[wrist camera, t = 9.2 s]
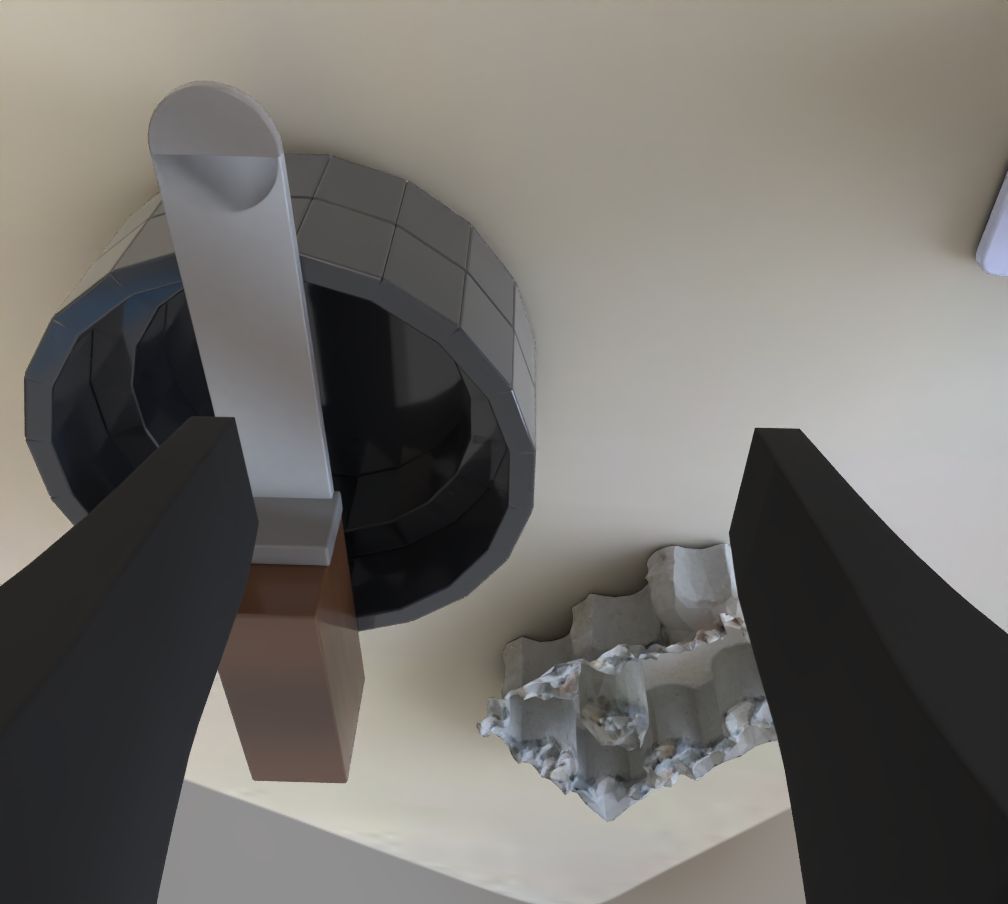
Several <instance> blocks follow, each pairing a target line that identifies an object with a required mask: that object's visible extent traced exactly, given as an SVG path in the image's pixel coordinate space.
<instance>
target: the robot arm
mask: <svg viewBox="0 0 1008 904" xmlns="http://www.w3.org/2000/svg"><path fill="white" fill-rule="evenodd" d="M976 260H977V263H978V264H979V266H980V267H981V268H982V270H984V271H985V272H986V273H987V274H990V275H995V276H1008V172H1007V174H1006V177H1005V180H1004V182H1003V185H1002V187H1001V190H1000V192H999V195H998V197H997V200H996V203H995V205H994V208H993V210H992V213H991V215H990V218H989V221H988V223H987V226H986V228H985V231H984V233H983V236H982V238H981V241H980V244H979V246H978V249H977V253H976ZM258 525H259V521H258V516H257V512H256V508H255V503H254V499H253V494H252V490H251V486H250V481H249V477H248V473H247V468H246V464H245V459H244V455H243V451H242V446H241V442H240V438H239V433H238V429H237V425H236V420H235V417H208V416H191V417H190V418H189V419H188V420H186V421H185V422H184V423H183V424H182V425H181V426H180V427H179V428H178V429H177V430H176V431H175V432H174V433H173V434H172V435H171V436H170V437H169V438H168V439H166V440H165V441H164V442H163V443H162V444H161V445H160V446H159V447H158V448H157V449H156V450H155V451H154V452H153V453H152V454H151V455H150V456H149V457H148V458H147V459H146V460H145V461H144V462H143V463H142V464H141V465H140V466H139V467H138V468H137V469H136V470H135V471H134V472H132V473H131V474H130V475H129V476H128V477H127V478H126V479H125V480H124V481H123V482H122V483H121V484H120V485H119V486H118V487H117V488H116V489H115V490H114V491H112V492H111V493H110V494H109V495H108V496H107V497H106V498H105V499H104V500H103V501H102V502H101V503H100V504H99V505H97V506H96V507H95V508H94V509H93V510H92V511H91V512H90V513H89V514H88V515H87V516H86V517H84V518H83V519H82V520H81V521H80V522H78V523H77V524H76V525H75V526H74V527H73V528H71V529H70V530H69V531H68V532H67V533H66V534H64V535H63V536H62V537H61V538H60V539H59V540H57V541H56V542H55V543H54V544H53V545H51V546H50V547H49V548H48V549H47V550H46V551H44V552H43V553H42V554H41V555H40V556H39V557H37V558H36V559H35V560H34V561H33V562H31V563H30V564H29V565H27V566H26V567H25V568H24V569H22V570H21V571H20V572H19V573H17V574H16V575H15V576H13V577H12V578H11V579H9V580H8V581H7V582H5V583H4V584H3V585H1V586H0V904H157V899H158V893H159V888H160V883H161V879H162V874H163V869H164V864H165V859H166V855H167V850H168V845H169V841H170V836H171V832H172V826H173V822H174V818H175V813H176V809H177V804H178V801H179V797H180V792H181V788H182V784H183V779H184V775H185V771H186V767H187V762H188V758H189V754H190V751H191V747H192V744H193V741H194V737H195V734H196V731H197V727H198V724H199V721H200V718H201V715H202V713H203V710H204V707H205V704H206V701H207V698H208V695H209V693H210V690H211V687H212V684H213V681H214V678H215V676H216V673H217V670H218V667H219V664H220V661H221V658H222V656H223V653H224V650H225V647H226V644H227V641H228V639H229V636H230V633H231V630H232V627H233V624H234V621H235V618H236V615H237V612H238V609H239V606H240V604H241V601H242V598H243V595H244V591H245V588H246V585H247V580H248V576H249V571H250V567H251V562H252V557H253V552H254V547H255V541H256V536H257V531H258ZM729 537H730V545H731V552H732V560H733V568H734V574H735V581H736V587H737V594H738V599H739V602H740V606H741V610H742V614H743V617H744V621H745V625H746V628H747V632H748V636H749V639H750V643H751V646H752V650H753V653H754V657H755V660H756V664H757V668H758V671H759V675H760V678H761V682H762V685H763V689H764V692H765V696H766V699H767V703H768V706H769V710H770V713H771V717H772V720H773V724H774V727H775V731H776V735H777V738H778V743H779V747H780V751H781V755H782V760H783V764H784V769H785V774H786V780H787V786H788V792H789V798H790V803H791V809H792V815H793V820H794V827H795V832H796V839H797V846H798V852H799V859H800V865H801V872H802V878H803V885H804V892H805V898H806V904H1008V634H1007V633H1006V632H1005V631H1004V630H1002V629H1001V628H1000V627H999V626H997V625H996V624H995V623H994V622H992V621H991V620H990V619H989V618H987V617H986V616H985V615H984V614H982V613H981V612H980V611H979V610H978V609H976V608H975V607H974V606H973V605H971V604H970V603H969V602H968V601H967V600H966V599H964V598H963V597H962V596H961V595H960V594H959V593H958V592H956V591H955V590H954V589H953V588H952V587H951V586H950V585H949V584H947V583H946V582H945V581H944V580H943V579H942V578H941V577H940V576H939V575H938V574H937V573H936V572H935V571H933V570H932V569H931V568H930V567H929V566H928V565H927V564H926V563H925V562H924V561H923V560H922V559H921V558H920V557H918V556H917V555H916V554H915V553H914V552H913V551H912V550H911V549H910V548H909V547H908V546H907V545H906V544H905V543H904V542H903V541H902V540H901V539H900V538H899V537H898V536H897V535H896V534H895V533H894V532H893V531H892V530H891V529H890V528H889V527H888V526H887V525H886V524H885V522H884V521H883V520H882V519H881V518H880V517H879V516H878V515H877V514H876V513H875V512H874V511H873V510H872V509H871V508H870V507H869V506H868V505H867V503H866V502H865V501H864V500H863V499H862V498H861V497H860V496H859V495H858V494H857V493H856V492H855V490H854V489H853V488H852V487H851V486H850V485H849V484H848V483H847V482H846V480H845V479H844V478H843V477H842V476H841V475H840V474H839V473H838V471H837V470H836V469H835V468H834V467H833V466H832V465H831V464H830V462H829V461H828V460H827V459H826V458H825V457H824V456H823V455H822V453H821V452H820V451H819V450H818V449H817V448H816V447H815V445H814V444H813V443H812V442H811V441H810V440H809V439H808V438H807V437H806V435H805V434H804V433H803V432H802V431H801V430H800V429H787V428H755V430H754V434H753V438H752V442H751V446H750V450H749V454H748V458H747V462H746V466H745V470H744V474H743V478H742V482H741V486H740V490H739V494H738V498H737V502H736V506H735V510H734V514H733V519H732V523H731V527H730V531H729Z"/></svg>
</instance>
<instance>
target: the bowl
mask: <svg viewBox="0 0 1008 904" xmlns="http://www.w3.org/2000/svg"><path fill="white" fill-rule="evenodd" d="M284 156H285V163H286V170H287V177H288V183H289V190H290V197H291V204H292V211H293V217H294V224H295V231H296V238H297V244H298V251H299V258H300V265H301V271H302V278H303V285H304V292H305V298H306V305H307V312H308V319H309V326H310V332H311V339H312V346H313V353H314V359H315V366H316V373H317V380H318V386H319V393H320V400H321V407H322V414H323V420H324V427H325V434H326V441H327V447H328V454H329V461H330V468H331V474H332V481H333V488H334V491H339V492H340V494H341V500H342V507H343V510H342V515H341V516H342V523H343V530H344V537H345V544H346V551H347V558H348V564H349V571H350V578H351V585H352V592H353V599H354V606H355V613H356V620H357V627H358V631H364V630H369V629H375V628H380V627H385V626H391V625H396V624H402V623H407V622H410V621H414V620H416V619H419V618H421V617H423V616H425V615H427V614H430V613H432V612H434V611H436V610H438V609H440V608H443V607H445V606H447V605H449V604H451V603H454V602H456V601H458V600H460V599H462V598H464V597H466V596H468V595H469V594H470V593H471V592H472V591H473V590H474V589H476V588H477V587H478V586H479V585H480V584H481V583H482V582H483V581H484V580H486V579H487V578H488V577H489V576H490V575H491V574H492V573H493V572H495V571H496V570H497V569H498V568H499V567H500V566H501V565H502V564H503V563H505V562H506V561H507V559H508V558H509V556H510V554H511V552H512V550H513V548H514V546H515V544H516V542H517V540H518V538H519V537H520V535H521V533H522V531H523V529H524V527H525V525H526V523H527V521H528V519H529V517H530V515H531V513H532V511H533V505H534V484H535V463H536V365H535V337H534V334H533V331H532V328H531V325H530V322H529V319H528V316H527V313H526V310H525V307H524V304H523V301H522V298H521V295H520V292H519V290H518V287H517V284H516V282H515V281H514V279H513V277H512V276H511V275H510V273H509V272H508V271H507V269H506V268H505V267H504V266H503V264H502V263H501V262H500V260H499V259H498V258H497V257H496V255H495V254H494V253H493V251H492V250H491V249H490V248H489V246H488V245H487V244H486V242H485V241H484V240H483V239H482V237H481V236H480V235H479V233H478V232H477V231H476V230H475V228H474V227H472V226H471V224H470V223H469V222H468V221H466V220H465V219H463V218H462V217H460V216H459V215H457V214H456V213H455V212H453V211H452V210H450V209H449V208H447V207H446V206H444V205H443V204H442V203H440V202H439V201H437V200H436V199H434V198H433V197H431V196H430V195H429V194H427V193H426V192H424V191H423V190H421V189H420V188H418V187H417V186H416V185H414V184H413V183H411V182H410V181H408V182H406V180H405V179H402V178H399V177H396V176H393V175H390V174H387V173H384V172H381V171H378V170H375V169H371V168H368V167H365V166H362V165H359V164H356V163H353V162H350V161H347V160H344V159H341V158H338V157H335V156H331V157H330V155H318V154H284ZM24 415H25V437H26V442H27V445H28V447H29V449H30V452H31V454H32V456H33V459H34V461H35V463H36V466H37V468H38V470H39V473H40V475H41V477H42V480H43V482H44V484H45V486H46V489H47V491H48V493H49V495H50V496H51V500H52V501H53V502H54V503H55V504H56V505H57V507H58V508H59V509H60V510H61V511H62V512H63V514H64V515H65V516H66V517H67V518H68V519H69V520H70V522H71V523H72V524H73V525H74V526H75V525H76V524H77V523H78V522H80V521H81V520H82V519H83V518H84V517H86V516H87V515H88V514H89V513H90V512H91V511H92V510H93V509H94V508H95V507H96V506H97V505H99V504H100V503H101V502H102V501H103V500H104V499H105V498H106V497H107V496H108V495H109V494H110V493H111V492H112V491H114V490H115V489H116V488H117V487H118V486H119V485H120V484H121V483H122V482H123V481H124V480H125V479H126V478H127V477H128V476H129V475H130V474H131V473H132V472H134V471H135V470H136V469H137V468H138V467H139V466H140V465H141V464H142V463H143V462H144V461H145V460H146V459H147V458H148V457H149V456H150V455H151V454H152V453H153V452H154V451H155V450H156V449H157V448H158V447H159V446H160V445H161V444H162V443H163V442H164V441H165V440H166V439H168V438H169V437H170V436H171V435H172V434H173V433H174V432H175V431H176V430H177V429H178V428H179V427H180V426H181V425H182V424H183V423H184V422H185V421H186V420H188V419H189V418H190V417H191V416H208V417H215V413H214V409H213V405H212V401H211V397H210V393H209V389H208V385H207V381H206V377H205V373H204V369H203V365H202V361H201V357H200V353H199V348H198V344H197V340H196V336H195V332H194V328H193V324H192V320H191V316H190V312H189V308H188V304H187V300H186V296H185V292H184V288H183V284H182V279H181V275H180V271H179V267H178V263H177V259H176V255H175V251H174V247H173V243H172V239H171V235H170V231H169V227H168V223H167V219H166V215H165V210H164V206H163V202H162V198H161V194H160V192H159V193H158V194H156V195H155V196H154V197H153V198H151V199H150V200H149V201H148V202H146V203H145V204H144V205H143V206H142V207H140V208H139V209H138V210H137V211H135V212H134V213H133V214H132V215H131V216H130V217H129V218H128V219H127V220H126V222H125V223H124V224H123V226H122V227H121V228H120V229H119V231H118V232H117V233H116V235H115V236H114V237H113V239H112V240H111V241H110V243H109V244H108V245H107V246H106V248H105V249H104V250H103V252H102V253H101V254H100V256H99V257H98V258H97V259H96V261H95V262H94V263H93V265H92V266H91V267H90V268H89V270H88V271H87V272H86V274H85V275H84V276H83V278H82V279H81V280H80V282H79V283H78V284H77V285H76V287H75V288H74V289H73V291H72V292H71V293H70V295H69V296H68V297H67V298H66V300H65V301H64V302H63V304H62V305H61V306H60V308H59V309H58V310H57V311H56V313H55V314H54V315H53V317H52V318H51V320H50V322H49V324H48V326H47V328H46V330H45V332H44V334H43V336H42V338H41V340H40V342H39V345H38V347H37V349H36V351H35V353H34V355H33V357H32V359H31V361H30V363H29V365H28V367H27V369H26V371H25V376H24Z"/></svg>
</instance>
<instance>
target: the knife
mask: <svg viewBox="0 0 1008 904" xmlns="http://www.w3.org/2000/svg"><path fill="white" fill-rule="evenodd" d="M148 143H149V149H150V154H151V158H152V162H153V166H154V170H155V174H156V178H157V182H158V186H159V190H160V194H161V198H162V202H163V206H164V210H165V215H166V219H167V223H168V227H169V231H170V235H171V239H172V243H173V247H174V251H175V255H176V259H177V263H178V267H179V271H180V275H181V279H182V284H183V288H184V292H185V296H186V300H187V304H188V308H189V312H190V316H191V320H192V324H193V328H194V332H195V336H196V340H197V344H198V348H199V353H200V357H201V361H202V365H203V369H204V373H205V377H206V381H207V385H208V389H209V393H210V397H211V401H212V405H213V409H214V413H215V417H235V420H236V425H237V429H238V433H239V438H240V442H241V446H242V451H243V455H244V459H245V464H246V468H247V473H248V477H249V481H250V486H251V490H252V494H253V499H254V503H255V508H256V512H257V516H258V521H259V525H258V531H257V536H256V541H255V547H254V552H253V557H252V562H251V567H250V571H249V576H248V580H247V585H246V588H245V591H244V595H243V598H242V601H241V604H240V606H239V609H238V612H237V615H236V618H235V621H234V624H233V627H232V630H231V633H230V636H229V639H228V641H227V644H226V647H225V650H224V653H223V656H222V658H221V661H220V664H219V667H218V672H219V675H220V678H221V681H222V685H223V688H224V691H225V694H226V697H227V700H228V704H229V707H230V710H231V713H232V716H233V719H234V722H235V726H236V729H237V732H238V735H239V738H240V741H241V744H242V748H243V751H244V754H245V757H246V760H247V763H248V766H249V770H250V773H251V776H252V779H253V780H255V781H286V782H320V783H346V782H347V781H348V775H349V769H350V763H351V757H352V751H353V745H354V740H355V734H356V728H357V722H358V716H359V710H360V704H361V698H362V692H363V686H364V680H365V676H364V669H363V662H362V655H361V648H360V641H359V634H358V627H357V620H356V613H355V606H354V599H353V592H352V585H351V578H350V571H349V564H348V558H347V551H346V544H345V537H344V530H343V523H342V516H341V515H342V510H343V507H342V500H341V494H340V492H339V491H334V488H333V481H332V474H331V468H330V461H329V454H328V447H327V441H326V434H325V427H324V420H323V414H322V407H321V400H320V393H319V386H318V380H317V373H316V366H315V359H314V353H313V346H312V339H311V332H310V326H309V319H308V312H307V305H306V298H305V292H304V285H303V278H302V271H301V265H300V258H299V251H298V244H297V238H296V231H295V224H294V217H293V211H292V204H291V197H290V190H289V183H288V177H287V170H286V163H285V156H284V150H283V145H282V140H281V137H280V135H279V132H278V130H277V128H276V126H275V124H274V122H273V121H272V119H271V117H270V116H269V115H268V113H267V112H266V111H265V110H264V108H263V107H262V106H261V105H260V104H259V103H258V102H256V101H255V100H254V99H253V98H251V97H250V96H249V95H247V94H246V93H244V92H242V91H241V90H239V89H237V88H235V87H232V86H229V85H227V84H224V83H219V82H215V81H195V82H190V83H186V84H184V85H181V86H179V87H177V88H175V89H174V90H172V91H171V92H170V93H169V94H167V95H166V97H165V98H164V99H163V100H162V101H161V102H160V103H159V104H158V106H157V107H156V109H155V110H154V112H153V114H152V117H151V120H150V124H149V129H148Z"/></svg>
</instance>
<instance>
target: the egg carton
mask: <svg viewBox="0 0 1008 904" xmlns="http://www.w3.org/2000/svg"><path fill="white" fill-rule="evenodd" d="M647 567H648V571H649V572H648V574H647V576H646V577H645V578H646V579H647V580H648V582H649V583H648V584H647V585H646V586H645V587H644V588H643V589H642V590H641V591H639V592H637V593H635V594H633V595H630V596H620V597H615V598H614V597H611V596H610V597H608V596H602V595H595V594H589V595H588V597H587V598H586V599H585V600H584V601H583V602H581V603H579V604H577V605H576V606H574V607H573V608H572V614H573V624H572V627H571V630H570V634H568V635H567V636H565V637H564V638H562V639H558V640H555V641H548V642H538V641H534V640H531V639H527V638H524V637H520V638H519V639H517V640H515V641H513V642H510V643H509V644H507V645H506V647H505V649H504V651H503V659H504V664H505V677H504V679H503V687H502V691H501V692H502V697H503V698H502V699H497V698H494V697H492V698H489V701H488V714H487V716H486V718H485V719H484V720H483V721H482V722H481V724H480V723H477V729H478V731H479V733H480V735H482V736H484V737H488V736H489V734H490V733H491V732H493V733H494V734H496V735H497V736H499V737H500V738H502V739H503V741H504V742H505V743H506V744H507V745H508V746H509V749H510V752H511V754H512V756H513V758H514V759H515V760H516V762H517V763H518V764H519V763H522V762H525V763H530V764H532V765H533V766H534V767H535V768H536V770H537V771H538V772H539V774H540V775H541V777H543V778H547V779H550V780H551V781H552V782H553V783H554V784H555V785H556V786H557V787H559V788H560V789H561V790H562V792H563V793H564V794H565V795H566V794H567V793H569V792H570V791H572V792H576V793H578V794H579V796H580V797H581V799H582V800H583V801H584V803H585V804H586V805H588V806H589V807H590V808H591V809H592V810H593V811H594V812H596V813H597V814H598V815H599V816H600V817H602V818H603V819H604V820H605V821H606V822H608V821H612V820H614V819H615V818H616V817H618V816H619V815H620V814H621V813H622V812H624V811H625V810H626V809H627V808H629V807H630V806H631V805H633V804H634V803H636V802H637V801H639V800H641V799H642V798H644V797H646V796H647V795H648V794H649V792H650V791H651V790H652V788H654V789H656V788H660V787H662V786H664V787H672V785H674V784H675V782H676V780H677V778H678V775H679V774H683V775H686V776H688V777H689V778H691V779H694V780H699V779H700V778H701V777H703V776H704V775H705V774H706V773H707V772H709V771H710V770H711V769H712V768H713V767H715V766H717V765H719V764H721V763H723V762H725V761H728V760H731V759H734V758H737V757H740V756H742V755H743V754H745V753H746V752H748V751H749V750H751V749H752V748H753V747H755V746H757V745H760V744H764V743H767V742H771V741H777V740H778V738H777V735H776V731H775V727H774V724H773V720H772V717H771V713H770V710H769V706H768V703H767V699H766V696H765V692H764V689H763V685H762V682H761V678H760V675H759V671H758V668H757V664H756V660H755V657H754V653H753V650H752V646H751V643H750V639H749V636H748V632H747V628H746V625H745V621H744V617H743V614H742V610H741V606H740V602H739V599H738V594H737V587H736V581H735V574H734V568H733V560H732V552H731V547H730V546H729V545H727V544H725V543H724V544H717V545H714V546H711V547H709V548H706V549H689V548H682V547H679V546H670V547H666V548H663V549H660V550H658V551H656V552H655V553H654V554H652V555H651V556H650V558H649V559H648V561H647Z"/></svg>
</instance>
